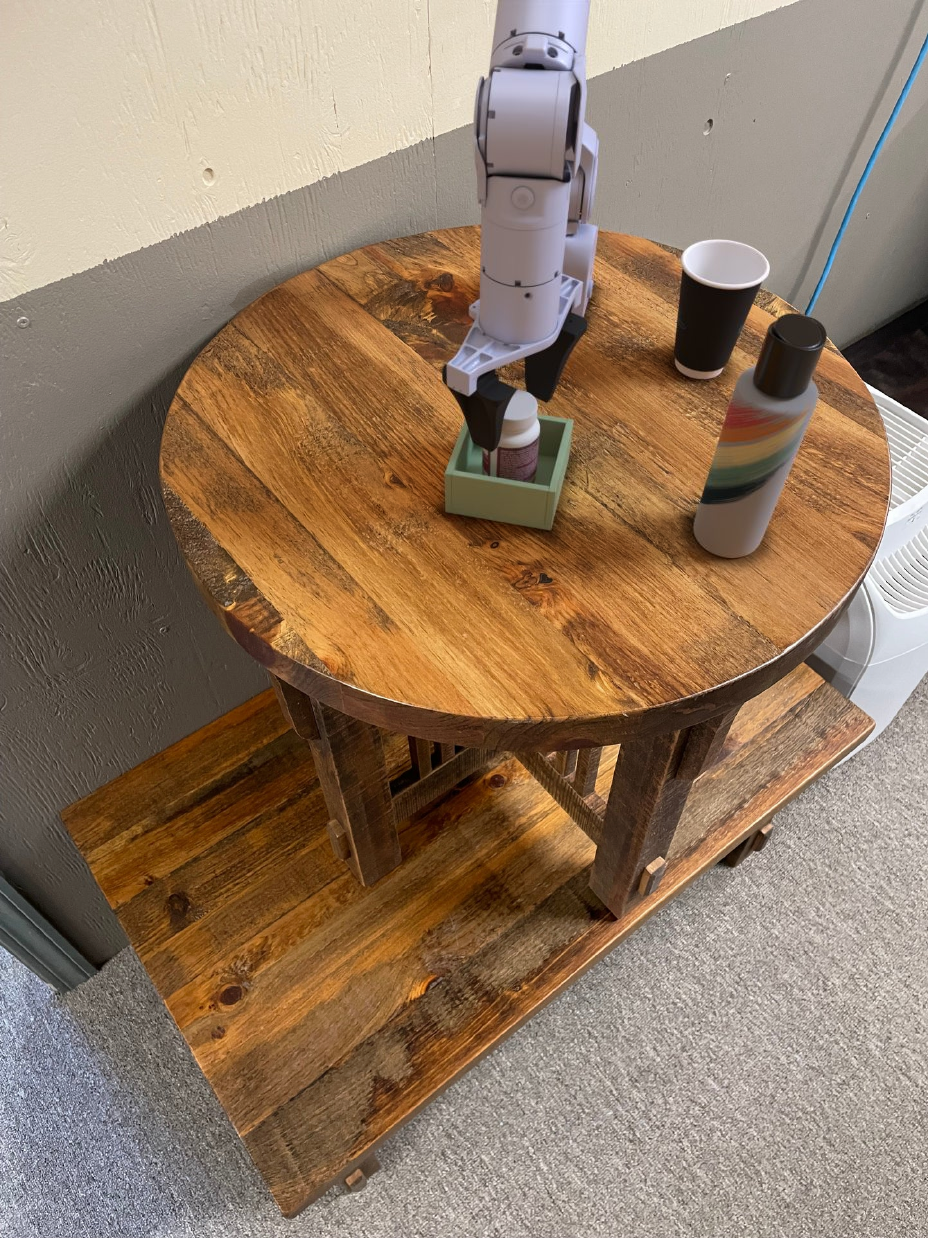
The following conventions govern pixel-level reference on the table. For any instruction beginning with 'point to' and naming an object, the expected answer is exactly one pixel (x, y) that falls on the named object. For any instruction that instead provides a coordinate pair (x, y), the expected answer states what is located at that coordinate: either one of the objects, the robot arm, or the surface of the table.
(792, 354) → the lotion bottle
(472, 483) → the sage green tray box
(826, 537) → the table surface
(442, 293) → the table surface
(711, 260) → the dixie cup
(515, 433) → the pill bottle
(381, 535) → the table surface
